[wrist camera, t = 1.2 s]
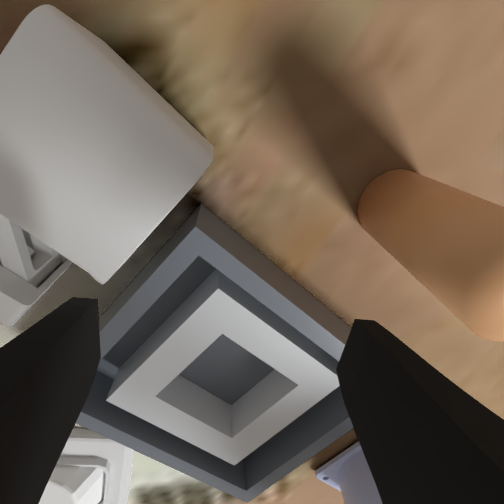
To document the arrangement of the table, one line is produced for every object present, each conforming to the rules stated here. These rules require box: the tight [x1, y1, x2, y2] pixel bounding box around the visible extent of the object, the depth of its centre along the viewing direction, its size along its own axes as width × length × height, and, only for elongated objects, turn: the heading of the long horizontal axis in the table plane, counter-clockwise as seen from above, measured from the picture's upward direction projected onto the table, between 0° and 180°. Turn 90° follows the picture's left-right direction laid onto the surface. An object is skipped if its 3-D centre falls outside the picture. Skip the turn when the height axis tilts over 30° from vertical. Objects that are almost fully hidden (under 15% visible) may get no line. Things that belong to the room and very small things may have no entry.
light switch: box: [39, 428, 135, 504], centre depth 25 cm, size 11×4×13 cm
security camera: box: [0, 4, 214, 326], centre depth 13 cm, size 6×7×10 cm
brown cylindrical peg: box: [358, 169, 504, 341], centre depth 14 cm, size 4×4×9 cm
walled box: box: [76, 203, 353, 502], centre depth 20 cm, size 16×14×4 cm
